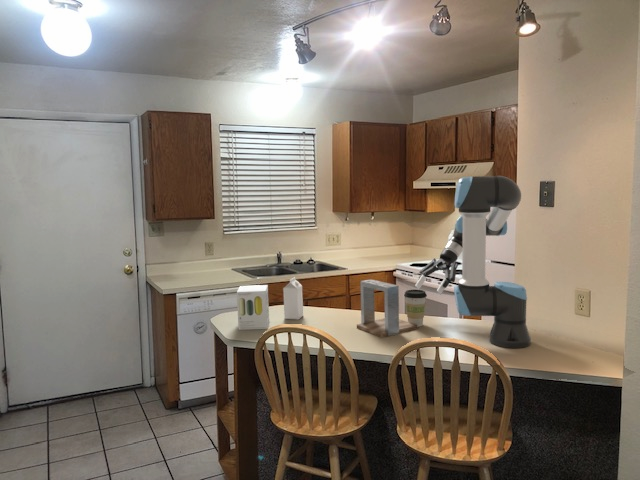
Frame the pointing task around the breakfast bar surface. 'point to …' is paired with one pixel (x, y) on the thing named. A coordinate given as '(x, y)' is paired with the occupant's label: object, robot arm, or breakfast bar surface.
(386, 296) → the grey keeper bridge
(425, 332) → the breakfast bar surface
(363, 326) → the walnut board
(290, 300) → the milk carton
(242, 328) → the supplement box
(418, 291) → the coffee cup
